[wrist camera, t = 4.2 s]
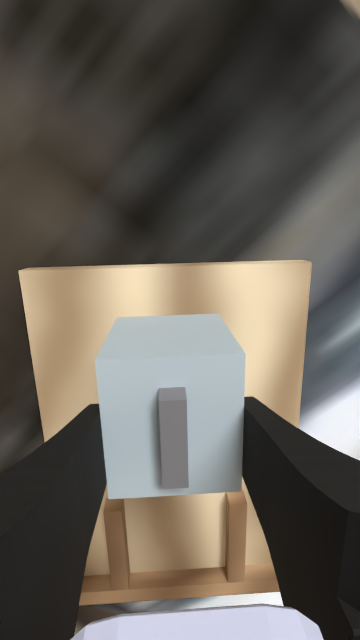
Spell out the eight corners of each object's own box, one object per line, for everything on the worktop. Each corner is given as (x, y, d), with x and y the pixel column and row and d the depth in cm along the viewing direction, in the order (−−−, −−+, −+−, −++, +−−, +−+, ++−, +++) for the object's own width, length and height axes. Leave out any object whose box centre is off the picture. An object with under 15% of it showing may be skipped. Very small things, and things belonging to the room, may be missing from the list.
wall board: (301, 259, 17) (321, 264, 15) (280, 556, 23) (292, 590, 21) (28, 267, 17) (9, 273, 15) (72, 570, 22) (62, 606, 20)
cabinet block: (218, 313, 15) (252, 364, 9) (217, 413, 16) (247, 510, 11) (117, 317, 15) (88, 371, 9) (124, 417, 16) (104, 519, 10)
